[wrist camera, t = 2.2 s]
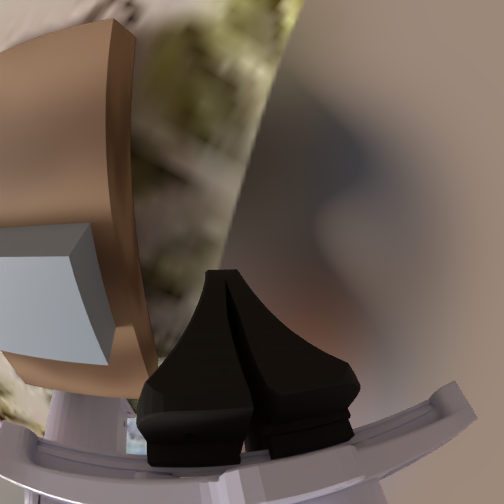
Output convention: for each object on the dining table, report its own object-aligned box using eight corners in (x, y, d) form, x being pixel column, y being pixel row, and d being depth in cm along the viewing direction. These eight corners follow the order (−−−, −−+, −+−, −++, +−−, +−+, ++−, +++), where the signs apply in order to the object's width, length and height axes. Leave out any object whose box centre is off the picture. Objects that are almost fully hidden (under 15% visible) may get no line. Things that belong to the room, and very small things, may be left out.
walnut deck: (158, 357, 21) (157, 399, 17) (37, 348, 18) (25, 383, 15) (136, 37, 9) (113, 18, 6) (-32, 87, 7) (-73, 97, 3)
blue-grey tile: (116, 327, 13) (108, 365, 11) (-4, 316, 11) (-19, 345, 9) (90, 222, 10) (68, 256, 8) (-40, 231, 8) (-65, 257, 6)
